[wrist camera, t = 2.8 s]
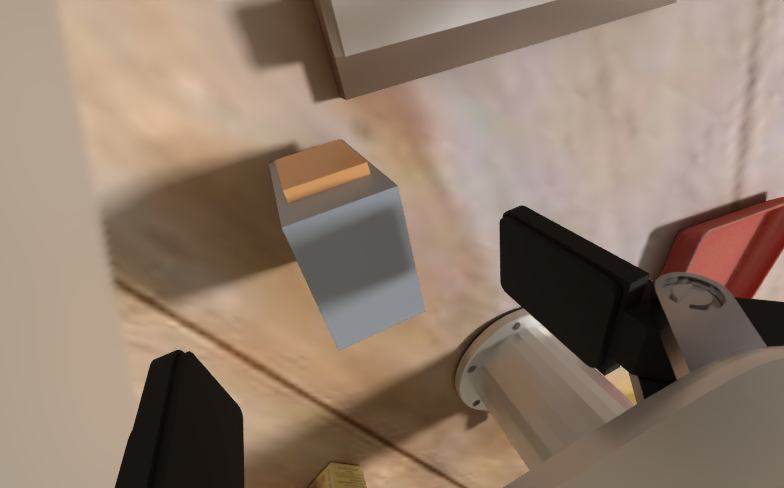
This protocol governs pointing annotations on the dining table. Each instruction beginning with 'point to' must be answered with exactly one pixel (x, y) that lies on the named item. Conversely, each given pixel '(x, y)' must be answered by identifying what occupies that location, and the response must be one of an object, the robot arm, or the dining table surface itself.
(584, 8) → the rail
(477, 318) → the dining table surface
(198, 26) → the dining table surface
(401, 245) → the block
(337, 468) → the candy box
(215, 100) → the dining table surface
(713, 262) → the plant saucer
